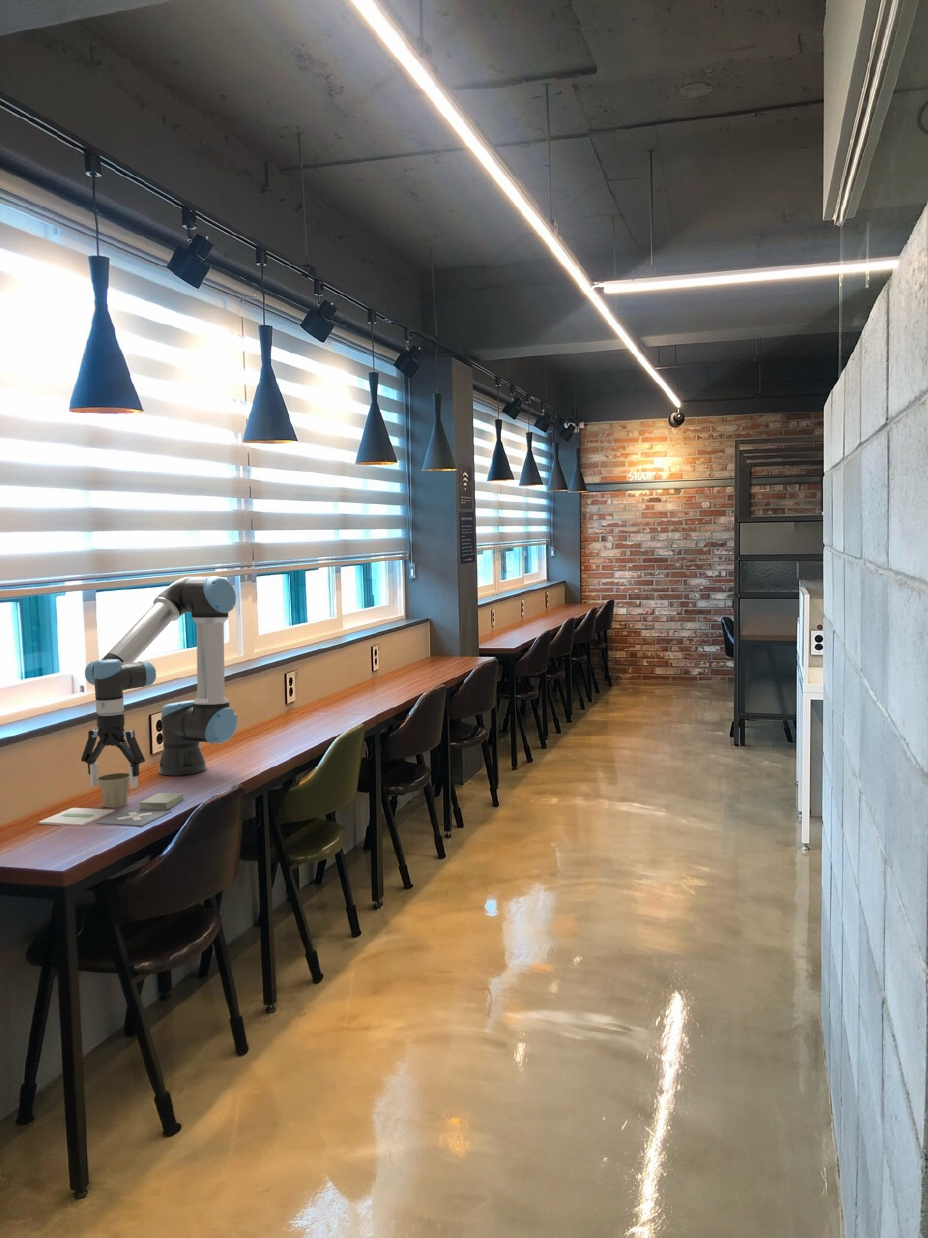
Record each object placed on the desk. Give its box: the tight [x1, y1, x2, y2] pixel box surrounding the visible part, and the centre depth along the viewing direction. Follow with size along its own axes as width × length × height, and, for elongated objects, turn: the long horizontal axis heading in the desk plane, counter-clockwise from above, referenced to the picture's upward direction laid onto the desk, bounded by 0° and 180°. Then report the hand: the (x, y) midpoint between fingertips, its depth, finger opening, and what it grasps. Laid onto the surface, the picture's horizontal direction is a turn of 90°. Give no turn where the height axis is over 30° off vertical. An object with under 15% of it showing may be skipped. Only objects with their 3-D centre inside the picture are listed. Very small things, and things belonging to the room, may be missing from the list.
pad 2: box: [96, 807, 173, 828], centre depth 262 cm, size 14×14×1 cm
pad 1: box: [38, 807, 116, 827], centre depth 264 cm, size 14×14×1 cm
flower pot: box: [97, 772, 130, 809], centre depth 276 cm, size 9×9×9 cm
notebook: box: [138, 792, 184, 810], centre depth 274 cm, size 12×8×2 cm, turn 175°
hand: (114, 786), depth 275 cm, fingers open, 12 cm apart
